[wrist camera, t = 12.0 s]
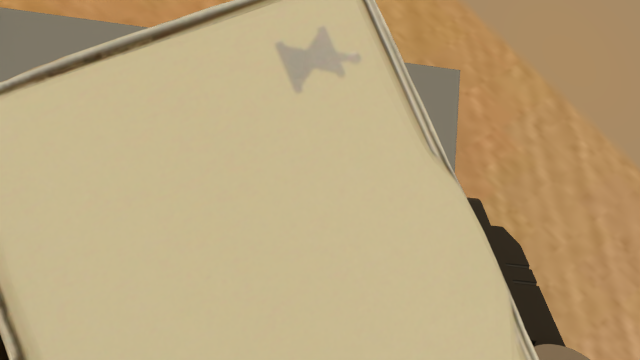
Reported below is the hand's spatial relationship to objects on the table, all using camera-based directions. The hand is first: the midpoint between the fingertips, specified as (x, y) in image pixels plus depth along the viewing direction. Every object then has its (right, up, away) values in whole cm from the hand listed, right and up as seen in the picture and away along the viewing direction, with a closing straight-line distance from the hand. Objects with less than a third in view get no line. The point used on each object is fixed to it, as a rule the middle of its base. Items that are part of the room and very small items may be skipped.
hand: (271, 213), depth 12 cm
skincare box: (-1, -3, +6) cm, 6 cm away
